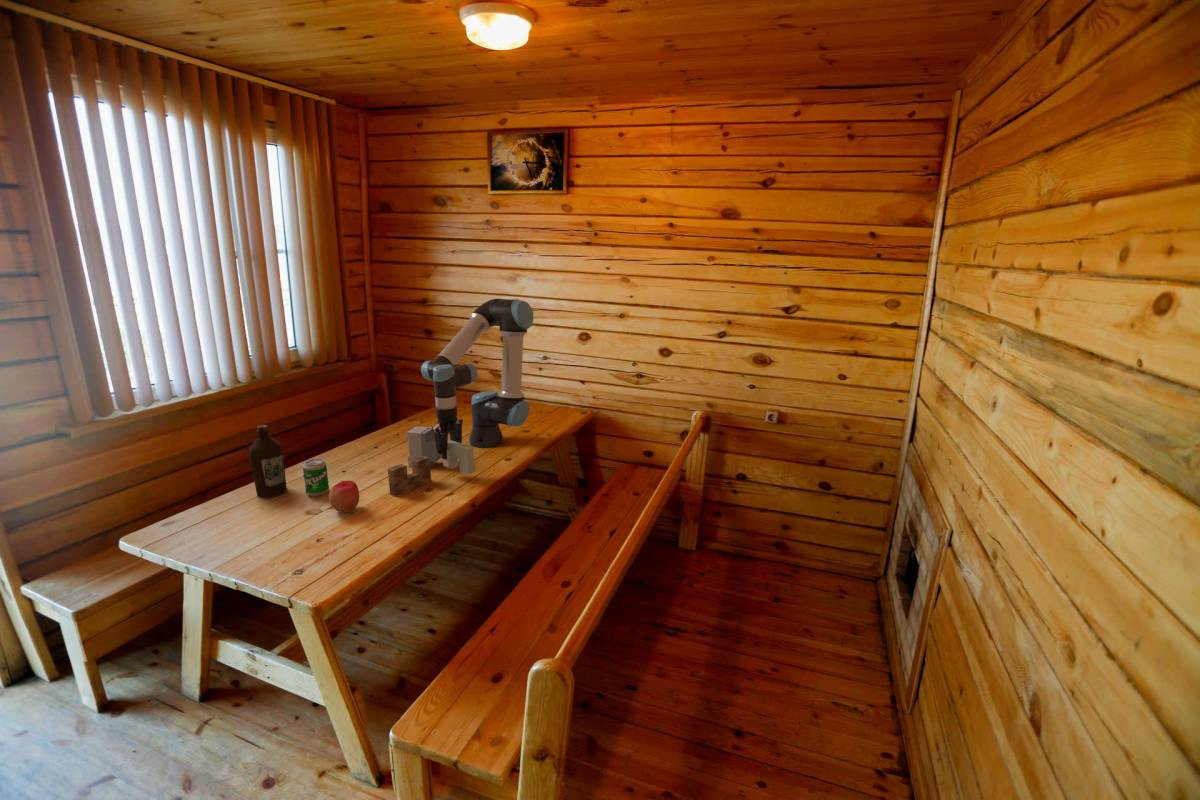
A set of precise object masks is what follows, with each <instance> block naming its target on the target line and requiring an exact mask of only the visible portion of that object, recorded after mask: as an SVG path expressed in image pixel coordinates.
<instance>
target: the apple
mask: <svg viewBox="0 0 1200 800" xmlns="http://www.w3.org/2000/svg"><path fill="white" fill-rule="evenodd" d="M328 501H329V505H331V507H332V508H333V509H334V510H335V511H337V512H339V513H349V512H352V511H354V510H355V509H356V508H357V506H358V505H359V502H360V491H359V488H358V485H357V483H356V482H355V481H354V480H341V481H339V482H338V483H336V484H334V485H333V486H332V487H331V488H330V491H329V493H328Z"/></svg>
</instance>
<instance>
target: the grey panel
mask: <svg viewBox="0 0 1200 800" xmlns="http://www.w3.org/2000/svg"><path fill="white" fill-rule="evenodd" d="M447 450H448V451H449V457H450V467H447V468H449V469H451V470H452V469H455V468H456V467H457V468H458V466H459V472H460V473H463V474H466V475H471V474H473V473H475V472H476V471H475V457H474V456H475V455H474V446H472V445H467V444H464V443H463V442H462V443H458V442H455V441H452V440H451V439H449V438H448V443H447ZM457 460H458V461H457ZM442 463H443V464H442V465H443V467H445V466H444V460H443V459H442ZM458 464H459V465H458Z"/></svg>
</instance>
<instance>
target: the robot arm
mask: <svg viewBox="0 0 1200 800" xmlns="http://www.w3.org/2000/svg"><path fill="white" fill-rule="evenodd" d="M533 323H534V312H533V309H532V307H531V305H530V303H528V302H527V301H525V300H521V299H509V298H498V297H496V298H492V299H489V300H487V301H485V302H484V303H482V304H481V305H479V306H478V307H477V308H476V309H475V310H473V312H472V313H471V314H470V315H469V320H468V321H467V322H466V323H465V324H464V326H463V327H461V329H460V330H459V331H458V332H457V333H456V334H455V336H454V337H453V338H452V339H451V340H450V341H449V342H448V343H447V345H446V346H445V347H444V348H443V349H442V351H441V352H440V353H439V354H437V356H436V357H435V358H434V359H433V360H431V359H430V360H426V361H424V362H423V363H422V365H421V368H420V372H421V375H422V377H423V378H424V379H426V380H429V381H431V382H432V381H433V389H434V400H435V412H436V413H435V414H436V418H437V422H436V425H435V426H432V427H431V428H432V430H433V432H434V437H435V443H436V449H437V450H438V451H441V452H442V458H441V459H442V461H443V460H444V466H443V467H446V468H448V467H450V457H449V451H448V450H447V443H448V439H449V438H450V439H449V440H452V441H455V442H458V443H462V444H463V423H464V419H462V418H459V417H457V416H458V407H457V391H456V389H458V388H459V387H463V386H467V385H470V384H471V383H474V382H475V381H476V380H477V379H478V374H479V372H478V369H477V367H476V366H475V365H474V364H472V363H463V364H458V362H459V361H460V360H461V359H462V358H463V357H464V355H466V353H467V352H468V351H469V349H470V348H471V347H472V346H473V345H474V344H475V343H476V342H477V340H478V339H479V338H480V337H481V336H482V334H483V333H485V332H488V331H489V330H490V329H491V328H493V327H499V333H500V334H501V335H502V353H501V355H502V357H501V386H500V387H501V388H500V391H499V392H498V391H493V390H490V391H487V390H485V391H481V392H478V393H475V394H473V395H472V396H471V403H470V407H471V419H472V420H471V422H472V423H471V424H472V427H471V430H470V435H469V437H468V438H469V439H468V441H469V446H471V447H476V448H485V449H487V448H493V447H497V446H500V445H502V444H503V443H504V435H503V432H502V431H501V428H500V425H505V426H508V427H520V426H522V425H524V423H525V422H526V421H527V419H528V417H529V414H530V409H531V408H530V404H529V402H528V401H526V400H525V394H524V393H523V392H522V381H523V378H522V375H523V356H524V355H523V353H524V352H523V351H524V336H525V335H527V333H528V330H529V329H530V328H531V327H532V326H533V325H532V324H533ZM457 461H458V462H459V459H457Z"/></svg>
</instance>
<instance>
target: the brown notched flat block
mask: <svg viewBox="0 0 1200 800" xmlns="http://www.w3.org/2000/svg"><path fill="white" fill-rule="evenodd" d="M411 469H412V472H411V473H408V466H407V465H406V464H403V463H399V464H397V465H394V466H391V467H389V468H387V474H388V484H389V485H388V486H389V496H390V495H391V496H393V497H398V496H401V495H403V494H405V493H406V494H407V493H408V492H410V491H413V490H415V489H418V488H420V487H423V486H425V485H428V484H430V483H432V473H431V471H432V470H431V466H430V457H427V456H422V457H419V458H416V459H414V460H412V468H411Z"/></svg>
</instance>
